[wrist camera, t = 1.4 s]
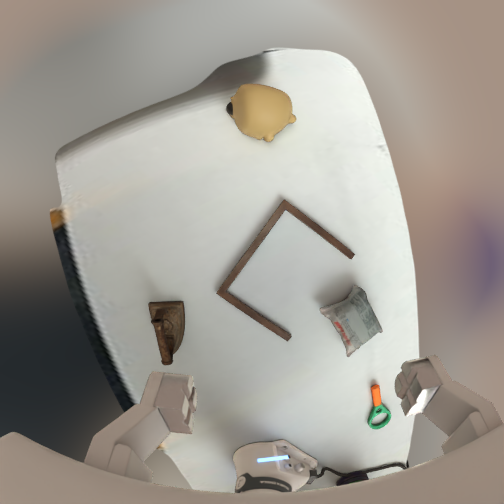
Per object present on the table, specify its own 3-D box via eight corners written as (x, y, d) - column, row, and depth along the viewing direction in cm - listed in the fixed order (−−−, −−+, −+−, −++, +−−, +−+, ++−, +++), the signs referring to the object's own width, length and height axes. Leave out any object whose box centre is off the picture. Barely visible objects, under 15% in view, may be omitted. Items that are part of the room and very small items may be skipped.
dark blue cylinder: (365, 466, 57) (379, 501, 42) (368, 480, 58) (380, 513, 43) (333, 478, 57) (343, 514, 43) (338, 491, 59) (347, 524, 44)
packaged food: (343, 351, 52) (351, 362, 47) (316, 305, 51) (323, 314, 46) (379, 327, 51) (389, 336, 46) (355, 280, 50) (364, 286, 45)
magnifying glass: (390, 420, 54) (392, 424, 53) (368, 429, 55) (370, 433, 53) (385, 379, 53) (388, 383, 51) (361, 389, 53) (363, 393, 51)
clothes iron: (182, 296, 51) (176, 326, 42) (193, 342, 55) (190, 375, 46) (148, 299, 51) (135, 328, 41) (161, 344, 55) (153, 377, 45)
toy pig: (275, 109, 50) (249, 67, 42) (313, 123, 41) (286, 70, 34) (237, 139, 50) (206, 97, 42) (268, 158, 42) (233, 106, 34)
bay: (353, 253, 49) (355, 254, 48) (287, 339, 52) (287, 341, 51) (283, 199, 48) (284, 199, 47) (216, 291, 51) (216, 293, 50)
